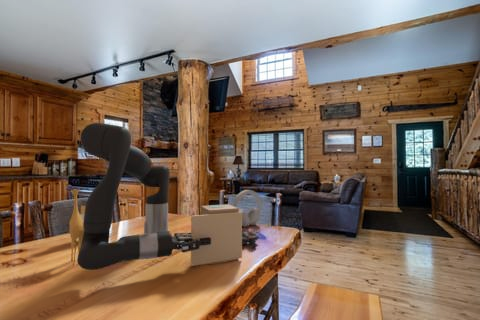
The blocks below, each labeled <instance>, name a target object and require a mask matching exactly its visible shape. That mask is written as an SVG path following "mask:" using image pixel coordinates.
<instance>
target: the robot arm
mask: <svg viewBox="0 0 480 320" xmlns="http://www.w3.org/2000/svg"><path fill="white" fill-rule="evenodd" d="M80 143H81V146H82V148H83V149H84V151H86V153H87V154H89V155H91V156H93V157H97V158H99V159H102V160H104V161H106V162H108V166H107V167H108V168H107V170H106V173H105V175H104V176H103V177H102V180H101V181H100V182H99V183H98V184H97V186H95V187H94V189H93V190H92V191H91V193H90V194H89V196H88V198H87V199H88V200H87V203H86V207H85V214H84V221H83V228H84V233H83V239H82V244H81V248H80V251H79V254H77V260H76V261H77V264H78V266H79V267H80V268H82V269H84V270H87V271H95V270H96V271H97V270H101V269H105V268H107V267H110V266H114V265H117V264H120V263H122V262H130V261H137V260H148V259H150V260H151V259H158V258H164V257H166V258H167V257H171V255H172V254H173V251H174V250H178V251H181V253H184V254H185V253H187V252H191V251H192V250H196V249H199V247H200V246H203V245H210V244H211V238H210V237H207V238H194V239H193V238H192V237H191V232H175V233H173V236H172V232H171V231H170V230H169V192H170V191H169V190H170V168H169V167H168V166H166V165H152V161H151V158H150V157H149V156H148V155H147V154H146V153H145V152H144V151H143V150H142V149H140V148H138V147H136V146H134V145H132V144H131V143H132V137H131V132H130V131H129V129H128V128H127V127H125V126H122V125H121V126H120V125H115V124H109V123H102V122H93V123H90V124H88V125H86V126H84V127H83V129H82V130H81V133H80ZM124 172H125V173H126V174H128V175H130V176H132V177H133V178H135V179H137V180H138V181H139V182H140V183H141V184H142V185H143V186H145V187H148V188H159V189H158V190H157V192H155V193H153V194H150V195H147V196H146V197H145V220H144V221H145V222H144V224H143V228H144V230H143V233H141V234H134V235H125V236H122V237H120V238H119V239H117V240H116V241H112V242H109V240H110V232H111V231H110V230H111V226H112V223H113V216H114V212H115V211H114V210H115V209H114V208H115V203H116V197H117V194H118V190H119V187H120V183H121V182H122V177H123V175H124ZM194 243H196V245H193V244H194Z"/></svg>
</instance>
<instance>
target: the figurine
mask: <svg viewBox="0 0 480 320" xmlns="http://www.w3.org/2000/svg"><path fill="white" fill-rule="evenodd" d="M258 240H259V235H257V234H256V233H254V232H251V231H250V230H246V231H245V230H243V228H242V245H245V244H248V243H249V244H250V245H251V249H252V250H255V249H257V247H256V244H255V243H256V242H257V241H258Z"/></svg>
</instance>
